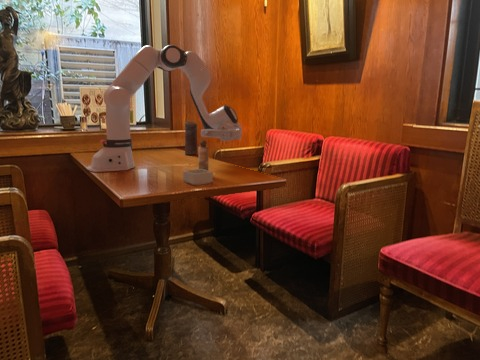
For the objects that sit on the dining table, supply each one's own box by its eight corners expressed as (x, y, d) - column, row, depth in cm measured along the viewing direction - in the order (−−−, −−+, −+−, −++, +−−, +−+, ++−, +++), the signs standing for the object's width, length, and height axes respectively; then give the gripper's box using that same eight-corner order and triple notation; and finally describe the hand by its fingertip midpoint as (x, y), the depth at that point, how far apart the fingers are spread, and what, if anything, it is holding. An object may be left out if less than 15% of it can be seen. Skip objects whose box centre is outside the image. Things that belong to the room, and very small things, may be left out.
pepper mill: (201, 176, 165) (201, 140, 162) (197, 174, 169) (196, 139, 165) (210, 175, 168) (210, 140, 164) (205, 173, 171) (205, 139, 168)
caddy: (193, 185, 148) (193, 174, 147) (183, 181, 156) (183, 170, 155) (212, 182, 153) (212, 172, 152) (201, 178, 161) (201, 168, 160)
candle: (193, 153, 233) (193, 121, 229) (199, 154, 228) (199, 122, 223) (182, 154, 229) (182, 121, 224) (188, 155, 223) (188, 122, 219)
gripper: (207, 125, 191) (195, 127, 179) (244, 126, 184) (234, 128, 172) (207, 137, 193) (195, 140, 180) (244, 139, 186) (234, 142, 173)
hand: (214, 134), depth 176 cm, fingers open, 8 cm apart
